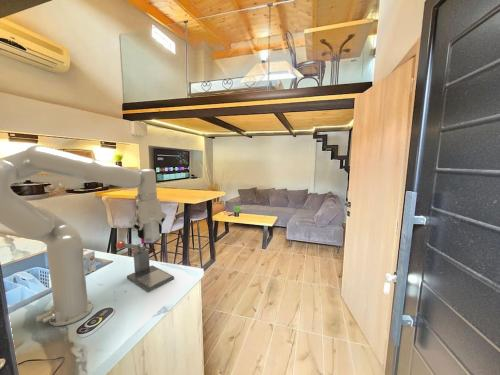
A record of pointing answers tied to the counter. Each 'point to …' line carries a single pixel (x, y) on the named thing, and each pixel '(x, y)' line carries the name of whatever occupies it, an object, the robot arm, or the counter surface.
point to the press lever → (130, 246)
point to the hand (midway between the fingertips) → (150, 235)
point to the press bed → (147, 273)
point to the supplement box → (151, 232)
